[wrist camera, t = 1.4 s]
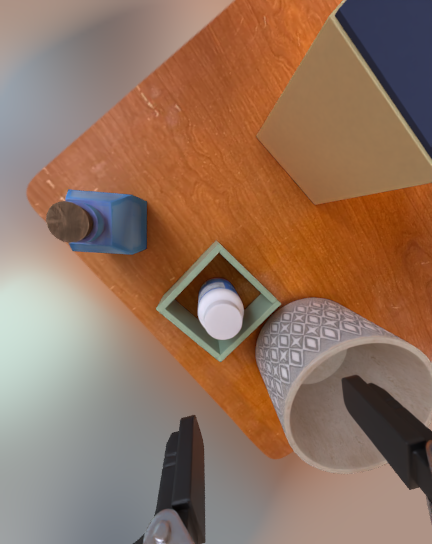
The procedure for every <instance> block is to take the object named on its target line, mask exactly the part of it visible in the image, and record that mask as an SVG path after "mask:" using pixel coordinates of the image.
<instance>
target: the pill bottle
mask: <svg viewBox="0 0 432 544" xmlns="http://www.w3.org/2000/svg"><path fill="white" fill-rule="evenodd" d="M243 315H244V307H243V304H242V301H241V299H240V297H239V296H238V294H237V292H236V290H235V288H234V287H233V285H232V284H231V283H230V282H229V281H228V280H226V279H223V278H211V279H209V280H207V281H206V282H205V283H204V284H203V285H202V286H201V288H200V290H199V296H198V318H199V321H200V323H201V324H202V326H203V327H204V328H205V329H206V331H207V333H208V334H209V335H210V336H212V337H213V338H215V339H219V340H227V339H230V338H232V337H234V336H235V335H237V333H238V332H239V331H240V329H241V327H242V319H243Z"/></svg>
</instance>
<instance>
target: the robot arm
mask: <svg viewBox="0 0 432 544" xmlns="http://www.w3.org/2000/svg"><path fill="white" fill-rule="evenodd" d="M341 382H342V390H343V399H344V404H345V406H346V409H347V410H348V412H349V414H350V415H351V416H352V418H353V419H354V420H355V421H356V423H357V424H358V425H359V427H360V428H361V429H362V430H363V432H364V433H365V434H366V435H367V437H368V438H369V439H370V440H371V442H372V443H373V444H374V445H375V447H376V448H377V449H378V451H379V452H380V453H381V454H382V456H383V457H384V458H385V459H386V461H387V462H388V463H389V464H390V466H391V467H392V468H393V469H394V471H395V472H396V473H397V474H398V476H399V477H400V478H401V480H402V481H403V482H404V483H405V485H406V486H407V487H408V488H409V490H411V489H415V488H419V487H420V488H421V490H422V491H423V492H424V493H425V494H426V499H427V505H428V509H429V513H430V519H431V523H432V431H431V430H430V429H428V428H427V427H426V426H425V425H424V424H423V423H422V422H421V421H420V420H418V419H417V418H416V417H415V416H414V415H413V414H412V413H411V412H409V411H408V410H407V409H406V408H405V407H403V406H402V405H401V404H400V403H399V402H398V401H397V400H395V399H394V397H392V396H391V395H390V394H389V393H388V392H387V391H386V390H385V389H383V388H381V387H379V386H377V385H376V384H374V383H368V384H367V383H366V382H365V381H364V380H363V379H362V378H361V377H360V376H358V375H352V376H348V377H344V378H342V379H341ZM204 478H205V477H204V445H203V439H202V435H201V432H200V429H199V425H198V422H197V419H196V416H195V415H192V416H189V417H184V418H181V420H180V427H179V431H178V432H174V433H172V434H171V436H170V438H169V440H168V442H167V444H166V451H165V458H164V463H163V469H162V476H161V482H160V489H159V494H158V502H157V507H156V512H155V515H154V518H153V519H152V520H151V522H150V524H149V525H148V527H147V529H146V532H145V533H144V535H143V536H142V537H141V538H140V539H139V540H137V541H136V542H135V543H133V544H202V543H205V480H204Z"/></svg>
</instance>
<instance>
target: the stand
mask: <svg viewBox="0 0 432 544" xmlns="http://www.w3.org/2000/svg"><path fill="white" fill-rule="evenodd" d="M345 1H346V0H343V1H342V2H341V3H340V4H339V5H338V7H337V8H336V9H335V10H334V11H333V12H332V13H331V14H330V16H329V17H328V19H327V20H326V22H325V24H324V25H323V27H322V29H321V30H320V32H319V34H318V35H317V37H316V38H315V40H314V42H313V43H312V45H311V47H310V48H309V50H308V52H307V53H306V55H305V57H304V58H303V60H302V61H301V63H300V65H299V66H298V68H297V70H296V71H295V73H294V75H293V76H292V78H291V80H290V81H289V83H288V84H287V86H286V88H285V89H284V91H283V93H282V94H281V96H280V98H279V99H278V101H277V103H276V104H275V106H274V107H273V109H272V111H271V112H270V114H269V116H268V117H267V119H266V121H265V122H264V124H263V126H262V127H261V129H260V130H259V132H258V134H257V135H256V137H257V138H258V140H259V141H260V142H261V143H262V144H263V145H264V146H265V148H266V149H267V150H268V151H269V152H270V153H271V155H272V156H273V157H274V158H275V159H276V160H277V162H278V163H279V164H280V165H281V166H282V167H283V169H284V170H285V171H286V172H287V173H288V174H289V176H290V177H291V178H292V179H293V180H294V181H295V183H296V184H297V185H298V186H299V187H300V188H301V190H302V191H303V192H304V193H305V194H306V195H307V196H308V198H309V199H310V200H311V201H312V202H313V203H314V205H317V204H322V203H327V202H333V201H338V200H343V199H348V198H354V197H359V196H364V195H370V194H375V193H380V192H385V191H391V190H396V189H401V188H407V187H412V186H417V185H422V184H428V183H432V159H431V157H430V156H429V154H428V153H427V151H426V150H425V148H424V147H423V145H422V144H421V142H420V141H419V140H418V138H417V137H416V135H415V134H414V132H413V131H412V129H411V128H410V126H409V125H408V123H407V122H406V120H405V119H404V117H403V116H402V114H401V113H400V111H399V110H398V108H397V107H396V105H395V104H394V103H393V101H392V100H391V98H390V97H389V95H388V94H387V92H386V91H385V89H384V88H383V86H382V85H381V83H380V82H379V80H378V79H377V77H376V76H375V74H374V73H373V71H372V70H371V68H370V67H369V66H368V64H367V63H366V61H365V60H364V58H363V57H362V55H361V54H360V52H359V51H358V49H357V48H356V46H355V45H354V43H353V42H352V40H351V39H350V37H349V36H348V34H347V33H346V31H345V30H344V29H343V27H342V26H341V24H340V23H339V21H338V20H337V18H336V17H335V14H336V12H337V11H338V9H339V8H340V7H341V6H342V5H343V3H344V2H345Z"/></svg>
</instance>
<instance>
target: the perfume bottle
mask: <svg viewBox="0 0 432 544" xmlns="http://www.w3.org/2000/svg"><path fill="white" fill-rule="evenodd" d="M46 222H47V226H48V228H49V230H50V232H51V233H52V234H53V235H54V236H55V237H56V238H57V239H59V240H61V241H63V242H68V243H69V245H70V247H71V249H72V251H81V252H98V253H114V254H131V255H133V254H135V253H137V252H140V251H142V250H145V249H147V201H144V200H142V199H140V198H138V197H136V196H133V195H128V194H116V193H104V192H92V191H80V190H68V193H67V196H66V201H62V202H58V203H55V204H53V205H52V206H51V207H50V208H49V210H48V213H47V217H46Z"/></svg>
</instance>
